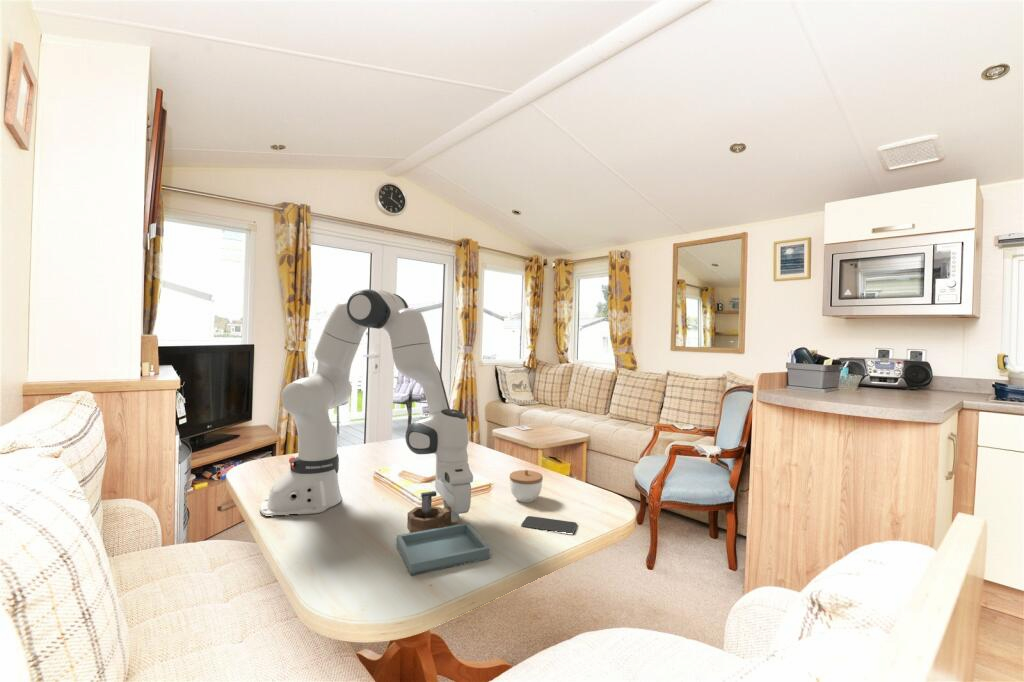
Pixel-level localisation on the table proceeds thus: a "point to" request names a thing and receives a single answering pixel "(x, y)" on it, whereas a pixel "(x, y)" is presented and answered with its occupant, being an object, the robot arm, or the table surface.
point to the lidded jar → (525, 485)
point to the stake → (427, 503)
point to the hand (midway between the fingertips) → (450, 517)
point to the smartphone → (549, 524)
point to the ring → (429, 519)
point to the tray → (441, 548)
